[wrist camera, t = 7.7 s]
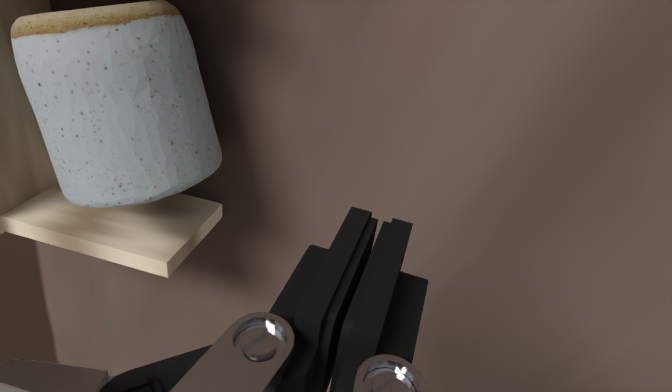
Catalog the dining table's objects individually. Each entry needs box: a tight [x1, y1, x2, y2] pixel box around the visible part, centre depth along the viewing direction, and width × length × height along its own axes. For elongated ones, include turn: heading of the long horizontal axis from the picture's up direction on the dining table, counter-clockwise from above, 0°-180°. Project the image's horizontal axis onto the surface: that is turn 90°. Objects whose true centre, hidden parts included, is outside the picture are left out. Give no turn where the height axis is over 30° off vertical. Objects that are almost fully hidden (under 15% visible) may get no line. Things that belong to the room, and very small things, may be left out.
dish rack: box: [0, 0, 222, 278], centre depth 20 cm, size 11×20×7 cm, turn 173°
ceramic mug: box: [11, 0, 222, 208], centre depth 21 cm, size 11×8×8 cm
